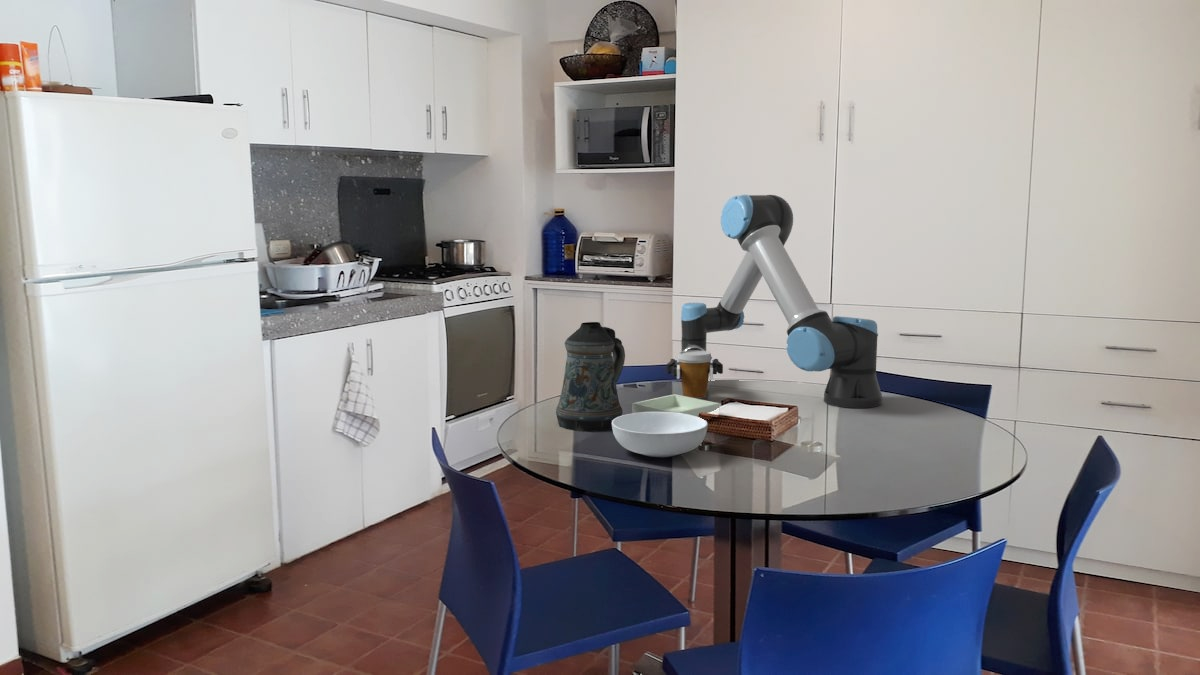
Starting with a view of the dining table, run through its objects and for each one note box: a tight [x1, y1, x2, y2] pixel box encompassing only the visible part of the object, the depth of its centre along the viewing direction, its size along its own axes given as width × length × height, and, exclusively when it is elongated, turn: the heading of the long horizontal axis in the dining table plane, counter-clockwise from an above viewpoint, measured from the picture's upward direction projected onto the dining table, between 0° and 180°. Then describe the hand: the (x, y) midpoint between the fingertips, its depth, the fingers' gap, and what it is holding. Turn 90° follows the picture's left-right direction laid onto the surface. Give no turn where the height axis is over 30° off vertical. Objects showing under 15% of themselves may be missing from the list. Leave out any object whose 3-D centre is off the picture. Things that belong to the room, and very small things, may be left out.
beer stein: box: [555, 321, 626, 432], centre depth 221 cm, size 16×19×25 cm
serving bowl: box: [611, 412, 709, 458], centre depth 195 cm, size 21×21×7 cm
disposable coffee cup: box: [676, 350, 713, 399], centre depth 244 cm, size 10×10×12 cm
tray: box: [631, 393, 720, 417], centre depth 227 cm, size 16×16×4 cm
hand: (694, 373), depth 239 cm, fingers closed on disposable coffee cup, 8 cm apart
